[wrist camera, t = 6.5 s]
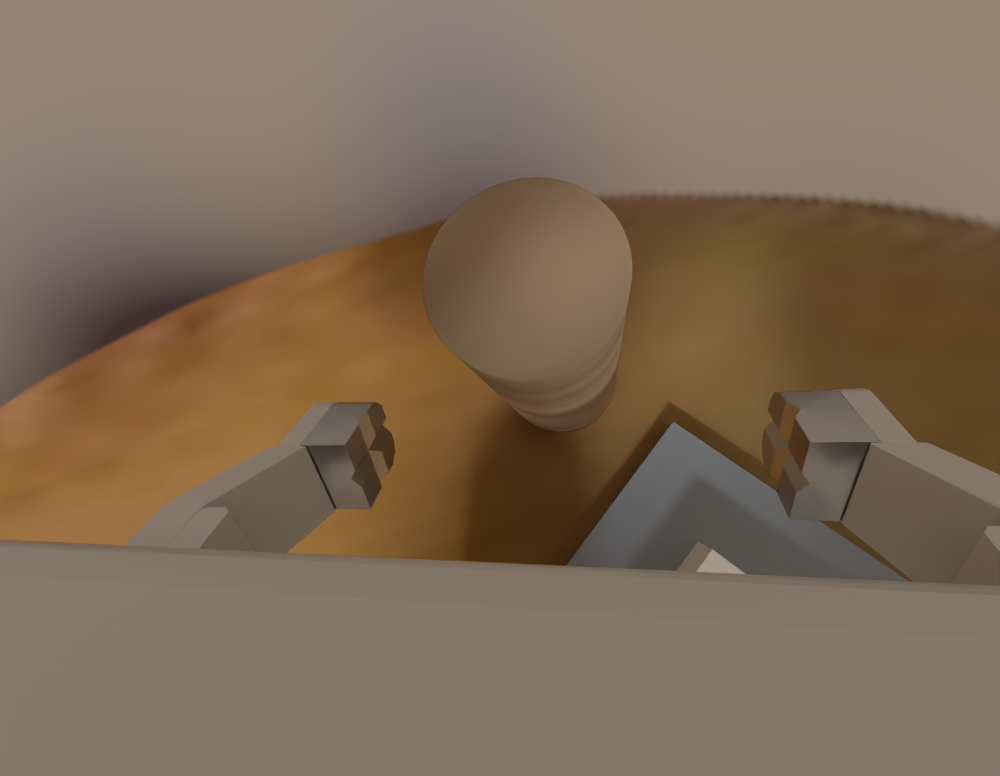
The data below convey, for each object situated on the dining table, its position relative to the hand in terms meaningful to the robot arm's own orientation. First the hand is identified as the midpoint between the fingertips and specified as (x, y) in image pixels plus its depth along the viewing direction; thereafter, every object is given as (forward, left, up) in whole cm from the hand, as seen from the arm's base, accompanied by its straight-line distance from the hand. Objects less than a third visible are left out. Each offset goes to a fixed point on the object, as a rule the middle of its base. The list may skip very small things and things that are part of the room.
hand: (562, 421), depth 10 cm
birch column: (+2, -2, -9) cm, 9 cm away
